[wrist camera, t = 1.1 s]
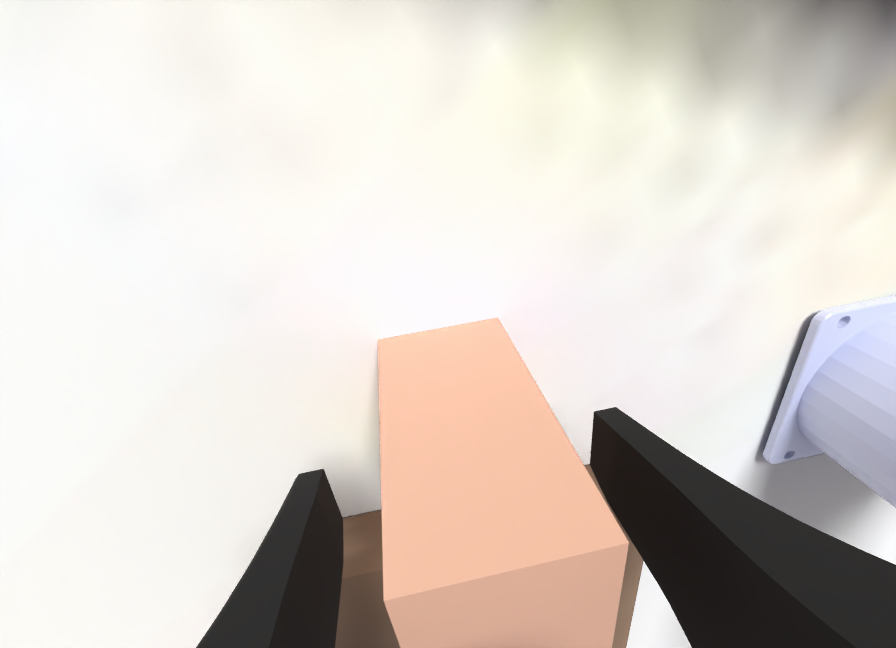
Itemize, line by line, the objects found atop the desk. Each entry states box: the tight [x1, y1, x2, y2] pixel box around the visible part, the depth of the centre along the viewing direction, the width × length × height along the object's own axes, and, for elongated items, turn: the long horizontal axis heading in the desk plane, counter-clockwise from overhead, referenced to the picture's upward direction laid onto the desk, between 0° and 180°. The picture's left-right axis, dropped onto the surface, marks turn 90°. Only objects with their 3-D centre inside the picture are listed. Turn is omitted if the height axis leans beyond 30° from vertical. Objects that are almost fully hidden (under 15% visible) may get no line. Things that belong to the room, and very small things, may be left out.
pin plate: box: [335, 464, 643, 648], centre depth 21 cm, size 14×20×2 cm
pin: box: [378, 318, 629, 648], centre depth 11 cm, size 4×4×8 cm
